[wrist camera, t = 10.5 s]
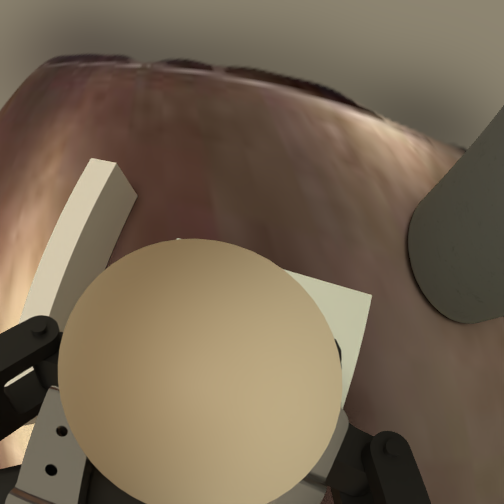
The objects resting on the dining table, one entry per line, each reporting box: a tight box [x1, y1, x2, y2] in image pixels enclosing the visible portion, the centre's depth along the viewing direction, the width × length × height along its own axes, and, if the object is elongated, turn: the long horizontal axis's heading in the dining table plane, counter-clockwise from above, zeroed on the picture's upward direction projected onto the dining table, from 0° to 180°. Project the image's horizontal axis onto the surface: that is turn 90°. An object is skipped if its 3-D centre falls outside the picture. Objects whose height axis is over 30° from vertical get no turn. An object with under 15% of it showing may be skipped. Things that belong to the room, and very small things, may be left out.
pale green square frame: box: [177, 238, 372, 409], centre depth 15 cm, size 10×10×3 cm
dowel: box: [58, 239, 342, 504], centre depth 10 cm, size 4×4×12 cm
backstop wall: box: [4, 158, 137, 426], centre depth 16 cm, size 2×16×4 cm, turn 163°
